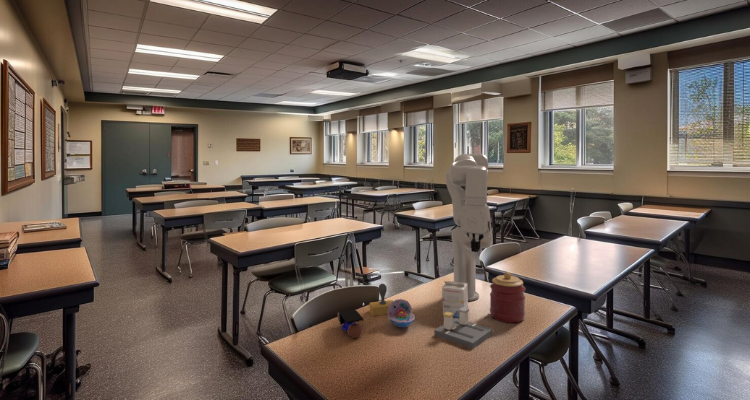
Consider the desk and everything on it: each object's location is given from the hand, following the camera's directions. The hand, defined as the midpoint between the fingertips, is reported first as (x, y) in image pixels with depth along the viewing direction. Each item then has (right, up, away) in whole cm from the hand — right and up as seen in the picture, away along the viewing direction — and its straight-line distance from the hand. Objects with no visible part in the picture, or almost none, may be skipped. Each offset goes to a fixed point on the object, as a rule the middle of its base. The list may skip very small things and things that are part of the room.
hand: (475, 251), depth 142 cm
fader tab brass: (-11, -26, -6) cm, 29 cm away
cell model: (-27, -29, +3) cm, 39 cm away
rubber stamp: (-34, -27, +16) cm, 46 cm away
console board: (-6, -29, -6) cm, 30 cm away
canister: (+15, -27, +9) cm, 32 cm away
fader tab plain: (-5, -26, -2) cm, 26 cm away
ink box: (-5, -27, +13) cm, 30 cm away
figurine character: (-46, -29, -1) cm, 54 cm away
